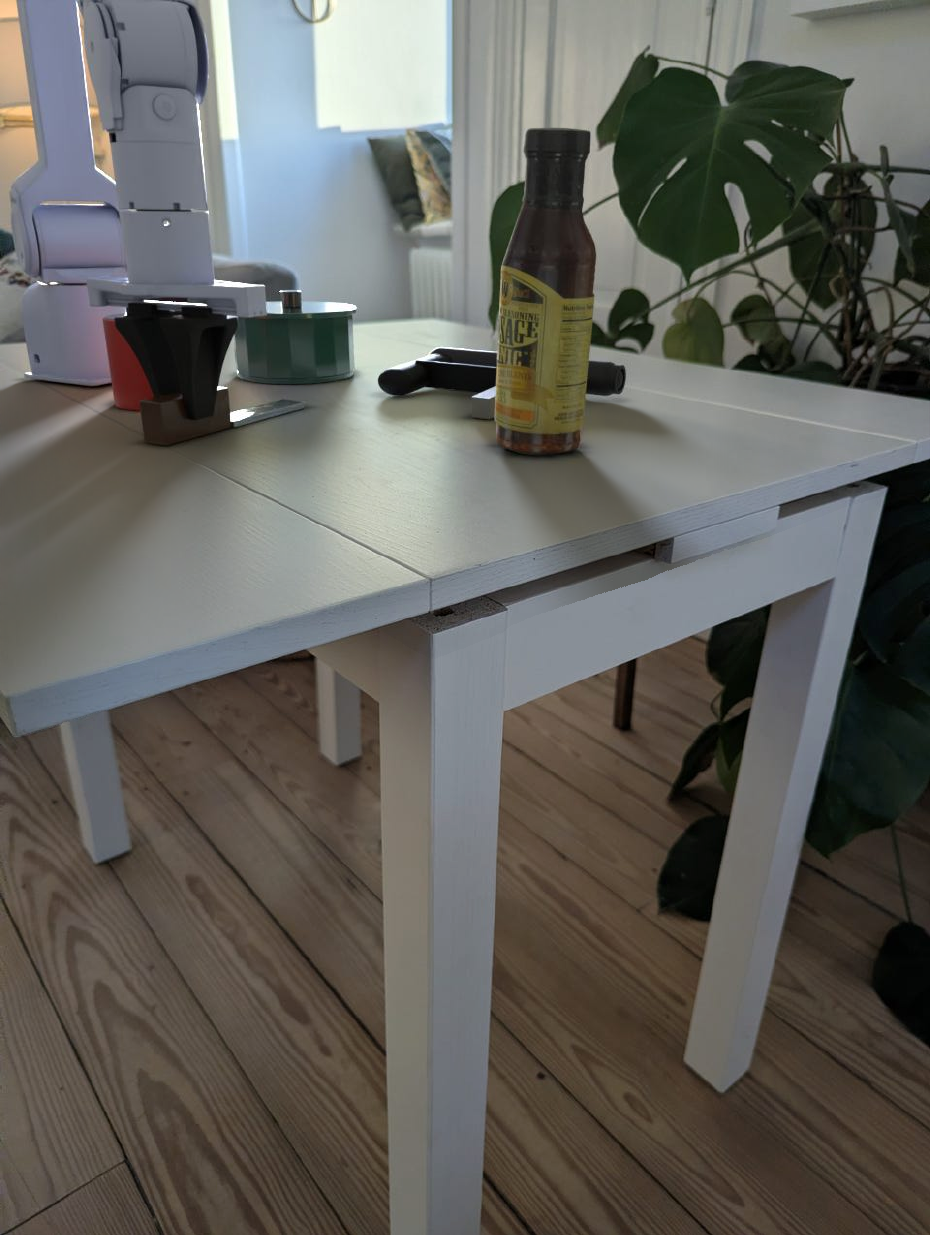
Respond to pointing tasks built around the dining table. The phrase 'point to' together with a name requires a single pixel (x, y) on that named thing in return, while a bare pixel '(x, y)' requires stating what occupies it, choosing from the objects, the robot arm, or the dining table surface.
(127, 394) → the can
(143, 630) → the dining table surface
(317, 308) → the pot lid
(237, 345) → the pot
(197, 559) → the dining table surface
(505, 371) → the sauce bottle
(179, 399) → the knife
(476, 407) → the door handle
